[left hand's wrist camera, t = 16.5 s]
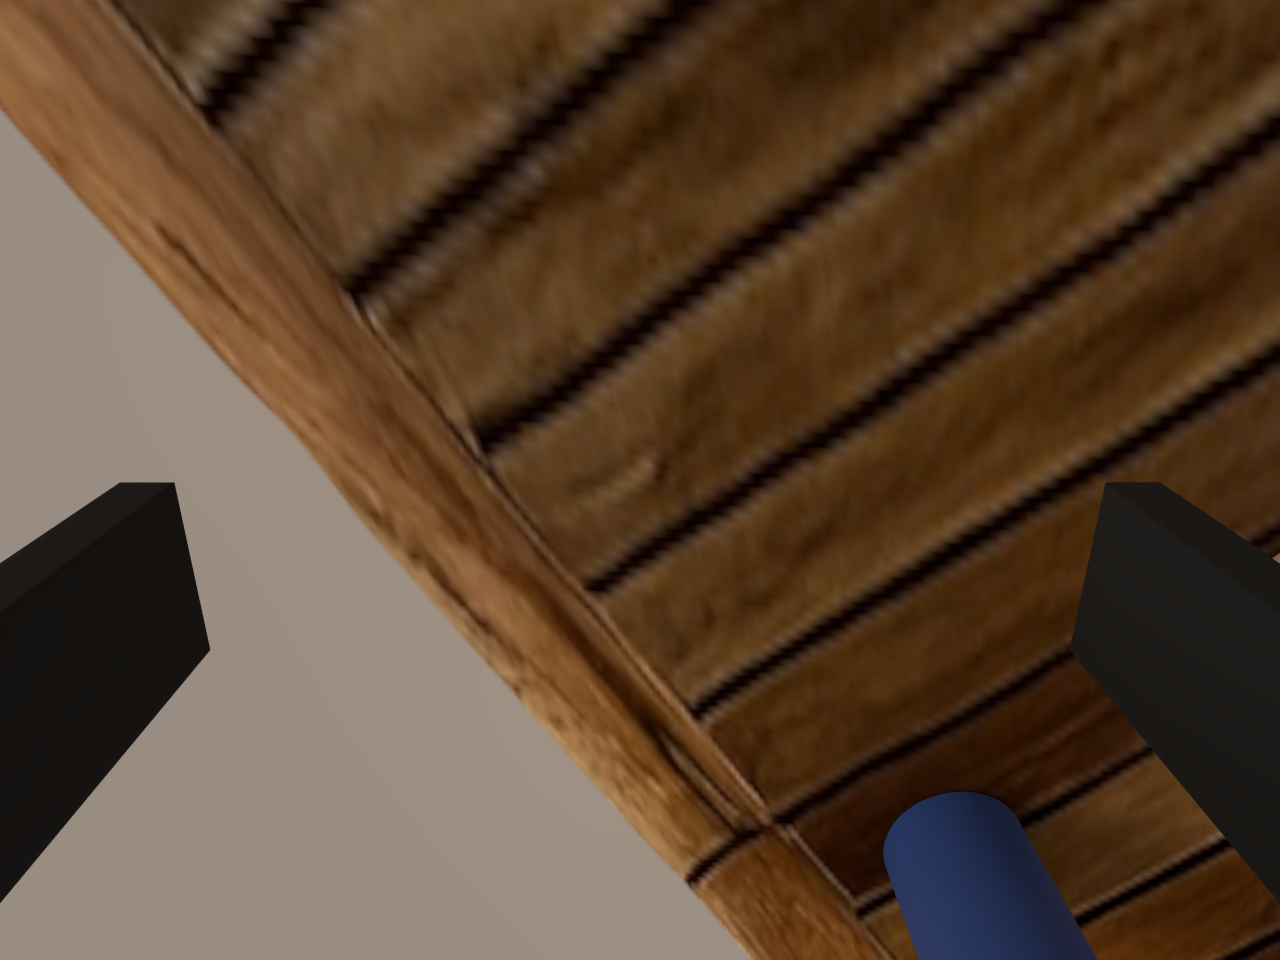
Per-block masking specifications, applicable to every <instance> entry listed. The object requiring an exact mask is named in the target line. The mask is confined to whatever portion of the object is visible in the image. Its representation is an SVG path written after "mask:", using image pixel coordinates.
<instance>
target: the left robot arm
mask: <svg viewBox="0 0 1280 960" xmlns="http://www.w3.org/2000/svg"><path fill="white" fill-rule="evenodd" d="M209 651H210V646H209V642H208V637H207V632H206V628H205V623H204V618H203V614H202V609H201V604H200V600H199V595H198V590H197V586H196V581H195V576H194V572H193V567H192V562H191V558H190V553H189V549H188V544H187V539H186V535H185V530H184V525H183V521H182V516H181V511H180V507H179V502H178V497H177V493H176V488H175V483H119V484H117V485H116V486H114V487H113V488H111V489H110V490H108V491H107V492H105V493H104V494H102V495H101V496H99V497H98V498H96V499H95V500H93V501H92V502H90V503H89V504H87V505H86V506H84V507H83V508H81V509H80V510H78V511H77V512H75V513H74V514H73V515H71V516H70V517H68V518H67V519H65V520H64V521H62V522H61V523H59V524H58V525H56V526H55V527H53V528H52V529H50V530H49V531H47V532H46V533H44V534H43V535H41V536H40V537H38V538H37V539H35V540H34V541H32V542H31V543H29V544H28V545H27V546H25V547H24V548H22V549H21V550H19V551H18V552H16V553H15V554H13V555H12V556H10V557H9V558H7V559H6V560H4V561H3V562H1V563H0V903H1V902H2V900H3V899H4V898H5V897H6V896H7V894H8V893H9V892H10V891H11V889H12V888H13V887H14V886H15V885H16V883H17V882H18V881H19V880H20V879H21V877H22V876H23V875H24V874H25V873H26V871H27V870H28V869H29V868H30V867H31V865H32V864H33V863H34V862H35V861H36V859H37V858H38V857H39V856H40V855H41V853H42V852H43V851H44V850H45V849H46V847H47V846H48V845H49V844H50V842H51V841H52V840H53V839H54V838H55V836H56V835H57V834H58V833H59V832H60V830H61V829H62V828H63V827H64V826H65V824H66V823H67V822H68V821H69V820H70V818H71V817H72V816H73V815H74V813H75V812H76V811H77V810H78V809H79V808H80V806H81V805H82V804H83V803H84V801H85V800H86V799H87V798H88V797H89V795H90V794H91V793H92V792H93V791H94V789H95V788H96V787H97V786H98V785H99V783H100V782H101V781H102V780H103V779H104V777H105V776H106V775H107V774H108V773H109V771H110V770H111V769H112V768H113V767H114V765H115V764H116V763H117V762H118V760H119V759H120V758H121V757H122V756H123V754H124V753H125V752H126V751H127V750H128V748H129V747H130V746H131V745H132V744H133V742H134V741H135V740H136V739H137V738H138V736H139V735H140V734H141V733H142V732H143V730H144V729H145V728H146V727H147V726H148V724H149V723H150V722H151V721H152V720H153V718H154V717H155V716H156V715H157V714H158V712H159V711H160V710H161V709H162V708H163V706H164V705H165V704H166V703H167V701H168V700H169V699H170V698H171V697H172V695H173V694H174V693H175V692H176V691H177V689H178V688H179V687H180V686H181V685H182V683H183V682H184V681H185V680H186V679H187V677H188V676H189V675H190V674H191V672H192V671H193V670H194V669H195V668H196V666H197V665H198V664H199V663H200V662H201V661H202V659H203V658H204V657H205V656H206V654H207V653H208V652H209ZM1070 651H1071V652H1072V653H1073V654H1074V656H1075V657H1076V658H1077V659H1078V661H1079V662H1080V663H1081V664H1082V665H1083V667H1084V668H1085V669H1086V670H1087V671H1088V673H1089V674H1090V675H1091V676H1092V677H1093V679H1094V680H1095V681H1096V682H1097V683H1098V685H1099V686H1100V687H1101V688H1102V689H1103V691H1104V692H1105V693H1106V694H1107V695H1108V697H1109V698H1110V699H1111V700H1112V701H1113V703H1114V704H1115V705H1116V706H1117V708H1118V709H1119V710H1120V711H1121V712H1122V714H1123V715H1124V716H1125V717H1126V718H1127V720H1128V721H1129V722H1130V723H1131V724H1132V726H1133V727H1134V728H1135V729H1136V730H1137V732H1138V733H1139V734H1140V735H1141V736H1142V738H1143V739H1144V740H1145V741H1146V742H1147V744H1148V745H1149V746H1150V747H1151V748H1152V750H1153V751H1154V752H1155V753H1156V755H1157V756H1158V757H1159V758H1160V759H1161V761H1162V762H1163V763H1164V764H1165V765H1166V767H1167V768H1168V769H1169V770H1170V771H1171V773H1172V774H1173V775H1174V776H1175V777H1176V779H1177V780H1178V781H1179V782H1180V783H1181V785H1182V786H1183V787H1184V788H1185V789H1186V791H1187V792H1188V793H1189V794H1190V795H1191V797H1192V798H1193V799H1194V800H1195V802H1196V803H1197V804H1198V805H1199V806H1200V808H1201V809H1202V810H1203V811H1204V812H1205V814H1206V815H1207V816H1208V817H1209V818H1210V820H1211V821H1212V822H1213V823H1214V824H1215V826H1216V827H1217V828H1218V829H1219V830H1220V832H1221V833H1222V834H1223V835H1224V836H1225V838H1226V839H1227V840H1228V841H1229V842H1230V844H1231V845H1232V846H1233V847H1234V849H1235V850H1236V851H1237V852H1238V853H1239V855H1240V856H1241V857H1242V858H1243V859H1244V861H1245V862H1246V863H1247V864H1248V865H1249V867H1250V868H1251V869H1252V870H1253V871H1254V873H1255V874H1256V875H1257V876H1258V877H1259V879H1260V880H1261V881H1262V882H1263V883H1264V885H1265V886H1266V887H1267V888H1268V889H1269V891H1270V892H1271V893H1272V894H1273V896H1274V897H1275V898H1276V899H1277V900H1278V902H1279V903H1280V563H1279V562H1277V561H1276V560H1274V559H1273V558H1271V557H1270V556H1268V555H1267V554H1265V553H1264V552H1262V551H1261V550H1259V549H1258V548H1256V547H1255V546H1253V545H1252V544H1251V543H1249V542H1248V541H1246V540H1245V539H1243V538H1242V537H1240V536H1239V535H1237V534H1236V533H1234V532H1233V531H1231V530H1230V529H1228V528H1227V527H1225V526H1224V525H1222V524H1221V523H1219V522H1218V521H1216V520H1215V519H1213V518H1212V517H1210V516H1209V515H1207V514H1206V513H1205V512H1203V511H1202V510H1200V509H1199V508H1197V507H1196V506H1194V505H1193V504H1191V503H1190V502H1188V501H1187V500H1185V499H1184V498H1182V497H1181V496H1179V495H1178V494H1176V493H1175V492H1173V491H1172V490H1170V489H1169V488H1167V487H1166V486H1164V485H1163V484H1161V483H1105V488H1104V493H1103V497H1102V502H1101V507H1100V511H1099V516H1098V521H1097V525H1096V530H1095V535H1094V539H1093V544H1092V548H1091V553H1090V558H1089V562H1088V567H1087V572H1086V576H1085V581H1084V586H1083V590H1082V595H1081V600H1080V604H1079V609H1078V614H1077V618H1076V623H1075V628H1074V632H1073V637H1072V642H1071V646H1070Z"/></svg>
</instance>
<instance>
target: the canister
mask: <svg viewBox="0 0 1280 960" xmlns="http://www.w3.org/2000/svg"><path fill="white" fill-rule="evenodd" d="M883 854H884V862H885V866H886V869H887V872H888V874H889V877H890V880H891V883H892V886H893V889H894V891H895V894H896V897H897V900H898V903H899V906H900V908H901V911H902V914H903V917H904V920H905V923H906V925H907V928H908V931H909V934H910V937H911V940H912V943H913V945H914V948H915V951H916V954H917V957H918V960H1098V959H1097V958H1096V956H1095V954H1094V952H1093V951H1092V949H1091V947H1090V945H1089V943H1088V942H1087V940H1086V938H1085V936H1084V935H1083V933H1082V931H1081V929H1080V928H1079V926H1078V924H1077V922H1076V921H1075V919H1074V917H1073V915H1072V914H1071V912H1070V910H1069V908H1068V907H1067V905H1066V903H1065V901H1064V900H1063V898H1062V896H1061V894H1060V893H1059V891H1058V889H1057V887H1056V886H1055V884H1054V882H1053V880H1052V879H1051V877H1050V875H1049V873H1048V872H1047V870H1046V868H1045V866H1044V865H1043V863H1042V861H1041V859H1040V857H1039V856H1038V854H1037V852H1036V850H1035V849H1034V847H1033V845H1032V843H1031V842H1030V840H1029V838H1028V836H1027V835H1026V833H1025V831H1024V829H1023V828H1022V826H1021V824H1020V822H1019V821H1018V819H1017V817H1016V815H1015V814H1014V813H1013V812H1012V810H1011V809H1010V808H1008V807H1007V806H1006V805H1005V804H1003V803H1002V802H1000V801H999V800H997V799H995V798H993V797H991V796H988V795H985V794H981V793H976V792H966V791H960V792H949V793H943V794H939V795H935V796H933V797H930V798H927V799H925V800H923V801H920V802H919V803H917V804H915V805H914V806H912V807H911V808H909V809H908V810H907V811H905V812H904V813H903V814H902V815H901V816H900V817H899V818H898V819H897V820H896V821H895V823H894V824H893V825H892V827H891V829H890V830H889V832H888V834H887V837H886V840H885V843H884V851H883Z"/></svg>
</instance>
